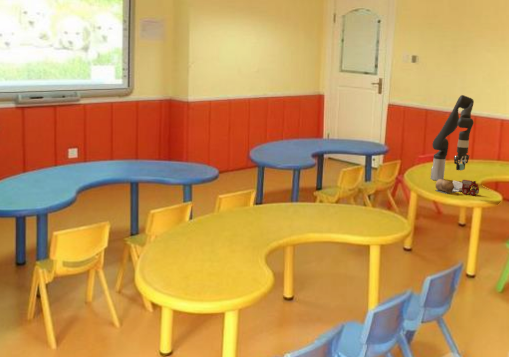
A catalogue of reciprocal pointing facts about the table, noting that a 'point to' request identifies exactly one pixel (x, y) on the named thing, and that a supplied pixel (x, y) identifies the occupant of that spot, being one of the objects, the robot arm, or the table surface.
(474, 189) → the toy fire truck
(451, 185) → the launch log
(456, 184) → the frame
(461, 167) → the rubber ball
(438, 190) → the grey rectangular panel
